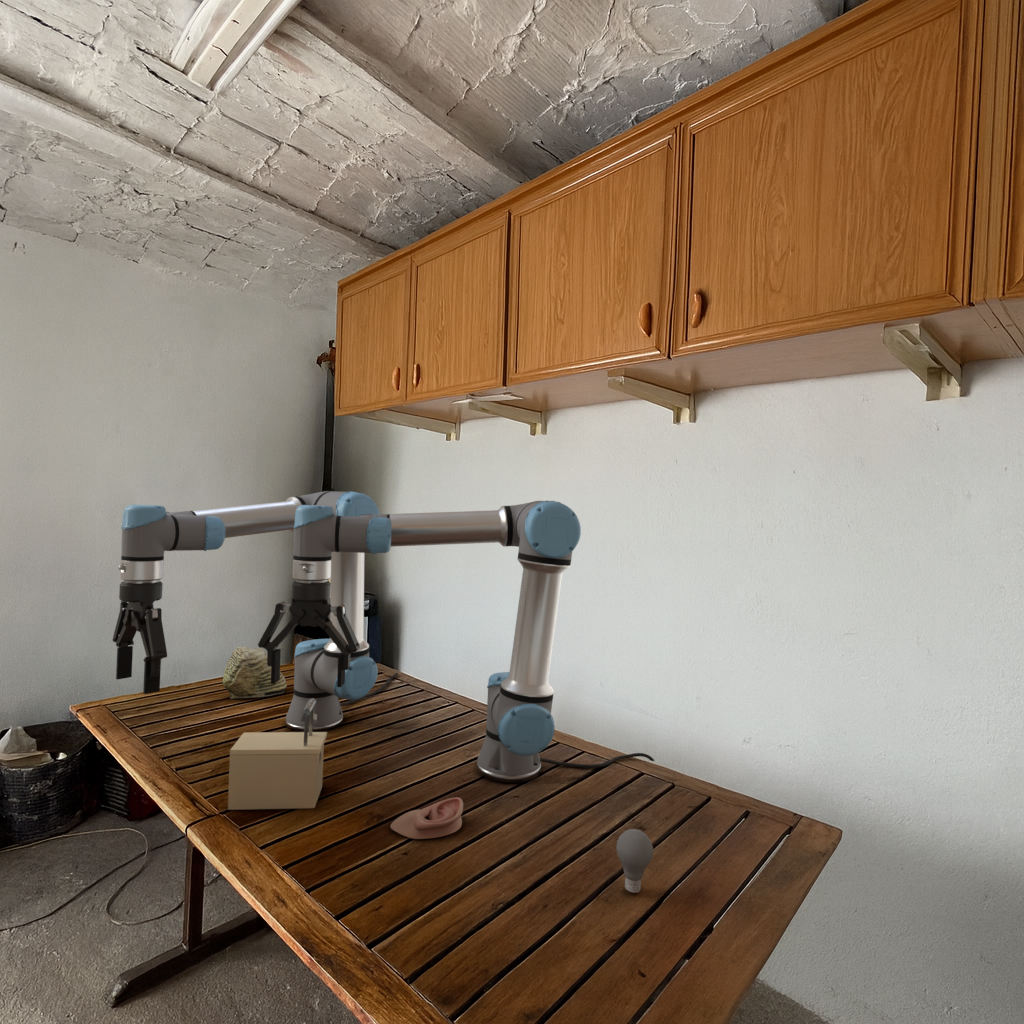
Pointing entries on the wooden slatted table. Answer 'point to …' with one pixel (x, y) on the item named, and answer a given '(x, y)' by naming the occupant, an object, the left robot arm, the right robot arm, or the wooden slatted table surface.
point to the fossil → (250, 675)
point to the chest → (275, 781)
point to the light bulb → (634, 857)
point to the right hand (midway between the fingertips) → (308, 683)
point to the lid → (283, 739)
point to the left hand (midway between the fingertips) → (137, 685)
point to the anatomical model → (431, 820)
